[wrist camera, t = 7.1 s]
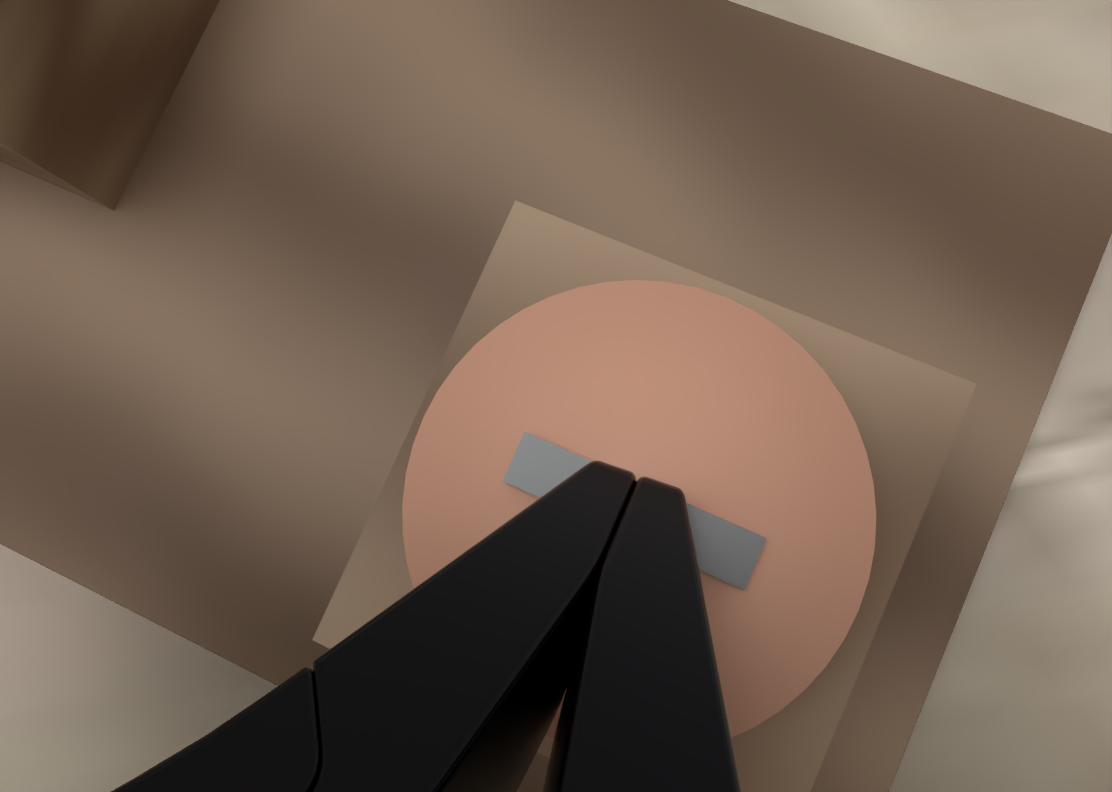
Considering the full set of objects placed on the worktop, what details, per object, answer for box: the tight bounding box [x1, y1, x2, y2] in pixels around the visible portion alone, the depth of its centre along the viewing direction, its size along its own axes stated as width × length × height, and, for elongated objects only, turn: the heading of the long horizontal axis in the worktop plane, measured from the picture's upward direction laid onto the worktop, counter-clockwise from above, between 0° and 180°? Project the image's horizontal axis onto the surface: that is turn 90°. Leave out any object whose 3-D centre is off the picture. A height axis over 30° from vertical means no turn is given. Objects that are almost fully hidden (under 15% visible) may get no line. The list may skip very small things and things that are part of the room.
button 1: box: [402, 280, 876, 739], centre depth 10 cm, size 4×4×2 cm
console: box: [0, 0, 1112, 792], centre depth 15 cm, size 14×24×7 cm, turn 66°
